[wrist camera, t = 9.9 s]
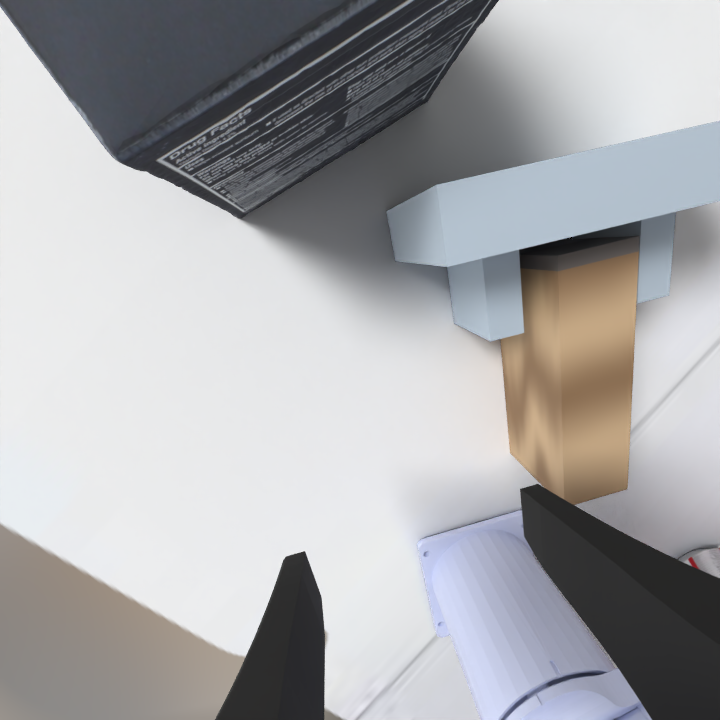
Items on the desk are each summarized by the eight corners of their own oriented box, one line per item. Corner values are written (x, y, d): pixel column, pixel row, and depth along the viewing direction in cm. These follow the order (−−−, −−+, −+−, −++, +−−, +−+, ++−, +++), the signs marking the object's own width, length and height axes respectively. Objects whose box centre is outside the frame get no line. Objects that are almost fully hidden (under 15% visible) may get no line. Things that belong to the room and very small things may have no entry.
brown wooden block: (560, 439, 22) (627, 489, 18) (510, 453, 22) (564, 507, 17) (554, 239, 18) (639, 235, 14) (493, 254, 18) (557, 255, 13)
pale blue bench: (642, 276, 20) (810, 288, 13) (408, 335, 19) (461, 380, 12) (648, 151, 18) (853, 90, 11) (386, 211, 17) (436, 184, 10)
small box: (361, -73, 13) (505, -969, 4) (432, 101, 16) (646, -160, 6) (138, 74, 14) (-287, -365, 4) (237, 224, 16) (120, 180, 6)
